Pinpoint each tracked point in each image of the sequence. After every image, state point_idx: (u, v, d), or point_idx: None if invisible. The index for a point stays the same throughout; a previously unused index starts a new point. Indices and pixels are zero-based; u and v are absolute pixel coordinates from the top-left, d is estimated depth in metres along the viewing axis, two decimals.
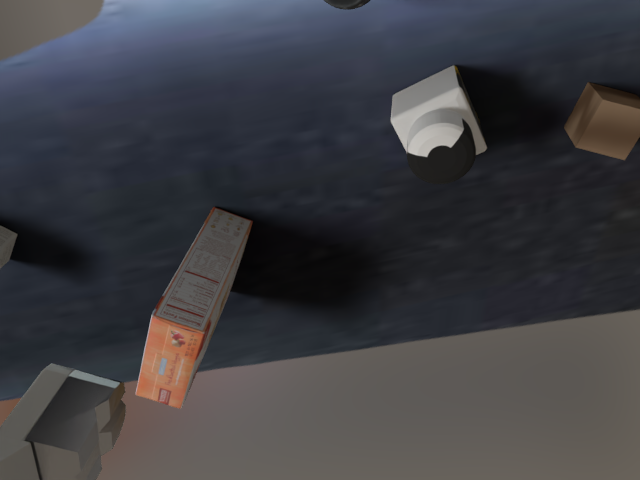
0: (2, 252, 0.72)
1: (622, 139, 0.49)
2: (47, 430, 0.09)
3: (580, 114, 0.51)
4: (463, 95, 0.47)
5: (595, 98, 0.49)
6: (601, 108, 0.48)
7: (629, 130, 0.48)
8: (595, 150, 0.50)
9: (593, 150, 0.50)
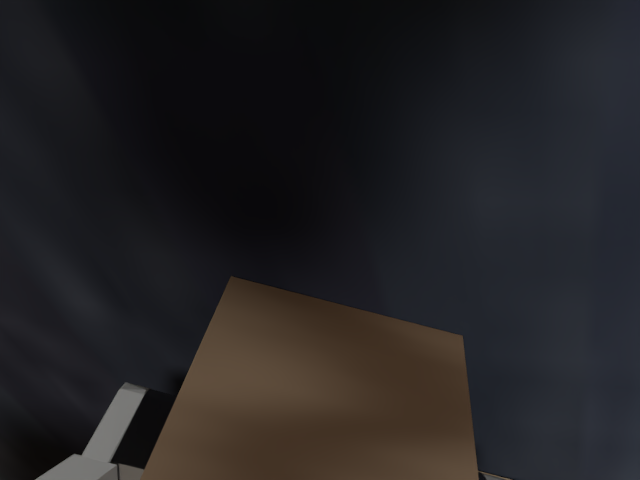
0: None
1: None
2: (131, 452, 0.09)
3: (326, 392, 0.09)
4: None
5: None
6: None
7: None
8: None
9: None
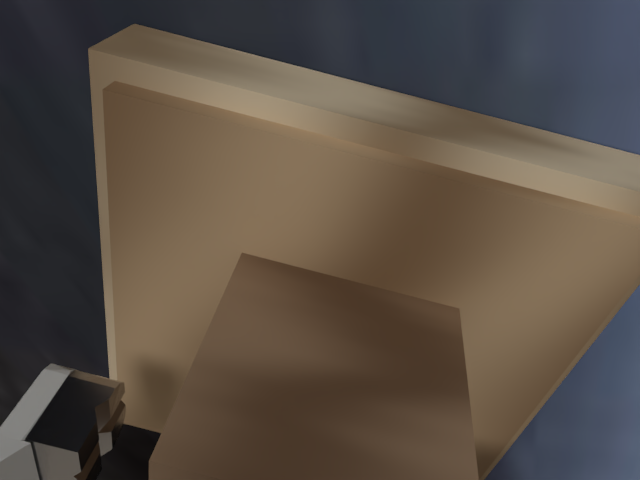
0: None
1: None
2: (48, 430, 0.09)
3: (332, 355, 0.10)
4: None
5: (450, 446, 0.09)
6: None
7: None
8: None
9: None
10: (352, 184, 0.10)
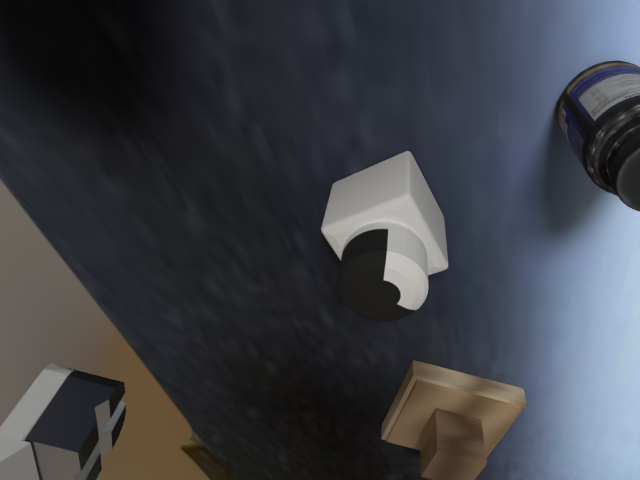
0: None
1: (443, 474, 0.52)
2: (47, 430, 0.09)
3: (458, 432, 0.52)
4: (437, 271, 0.38)
5: (481, 448, 0.51)
6: (477, 463, 0.50)
7: (452, 477, 0.52)
8: (432, 461, 0.51)
9: (432, 460, 0.51)
10: (461, 399, 0.52)
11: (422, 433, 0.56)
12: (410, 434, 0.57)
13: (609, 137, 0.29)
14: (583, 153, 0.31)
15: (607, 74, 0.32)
